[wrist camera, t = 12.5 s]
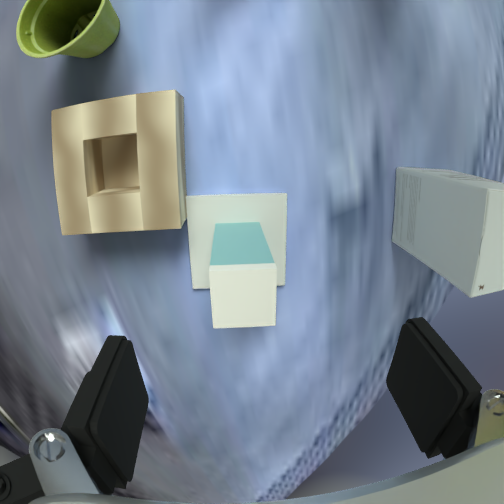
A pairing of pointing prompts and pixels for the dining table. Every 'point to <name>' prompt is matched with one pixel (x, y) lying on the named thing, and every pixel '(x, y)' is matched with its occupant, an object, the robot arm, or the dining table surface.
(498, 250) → the supplement box
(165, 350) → the dining table surface
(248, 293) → the plug
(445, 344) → the robot arm
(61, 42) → the plant pot
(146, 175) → the socket block
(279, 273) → the mat
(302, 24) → the dining table surface
